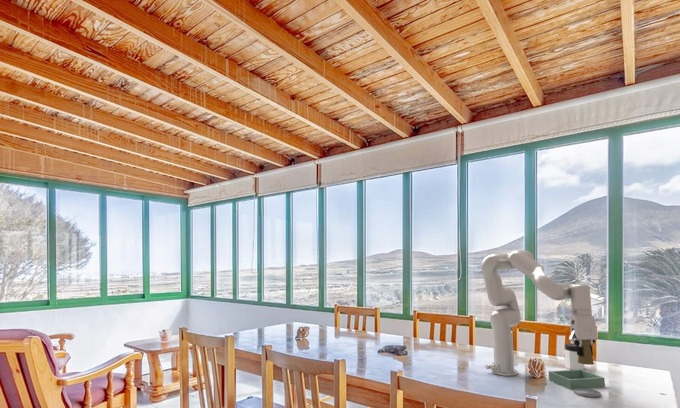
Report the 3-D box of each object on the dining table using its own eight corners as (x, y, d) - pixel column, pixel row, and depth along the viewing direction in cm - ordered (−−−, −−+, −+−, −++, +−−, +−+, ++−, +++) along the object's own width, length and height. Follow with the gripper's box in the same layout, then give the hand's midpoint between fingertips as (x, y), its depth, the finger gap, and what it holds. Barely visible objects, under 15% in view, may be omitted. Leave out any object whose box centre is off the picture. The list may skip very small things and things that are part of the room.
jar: (578, 371, 211) (576, 347, 213) (562, 367, 218) (561, 344, 219) (587, 368, 216) (585, 345, 217) (571, 365, 223) (570, 342, 224)
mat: (586, 398, 172) (586, 396, 172) (568, 390, 182) (568, 388, 182) (606, 397, 174) (606, 394, 174) (588, 389, 184) (588, 387, 184)
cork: (578, 360, 184) (576, 335, 185) (594, 362, 180) (592, 336, 181) (577, 363, 179) (575, 337, 180) (593, 365, 175) (591, 338, 176)
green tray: (570, 389, 184) (569, 380, 184) (548, 380, 197) (548, 371, 198) (605, 386, 187) (604, 377, 187) (581, 377, 201) (581, 369, 201)
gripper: (571, 314, 177) (574, 358, 174) (604, 313, 180) (608, 356, 178) (559, 312, 184) (562, 354, 182) (591, 310, 187) (594, 352, 185)
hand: (584, 355), depth 180 cm, fingers closed on cork, 3 cm apart
